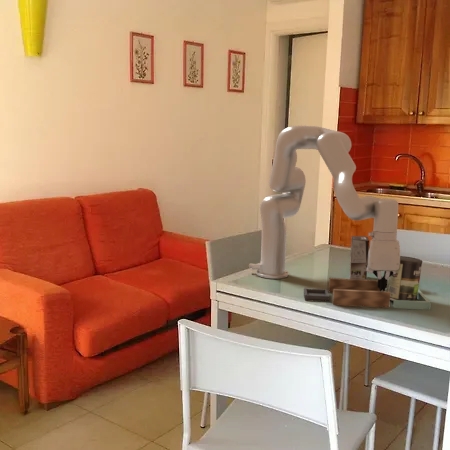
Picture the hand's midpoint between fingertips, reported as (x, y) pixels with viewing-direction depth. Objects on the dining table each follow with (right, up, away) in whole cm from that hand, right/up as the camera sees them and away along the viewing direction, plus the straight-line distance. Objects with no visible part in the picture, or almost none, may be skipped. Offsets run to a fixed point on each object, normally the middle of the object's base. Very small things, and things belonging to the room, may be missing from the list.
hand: (381, 289), depth 184 cm
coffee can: (+7, -4, +2) cm, 9 cm away
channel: (-8, -4, +2) cm, 9 cm away
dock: (+8, -4, +1) cm, 9 cm away
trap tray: (-22, -3, +3) cm, 22 cm away
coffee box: (-1, +1, +28) cm, 28 cm away
